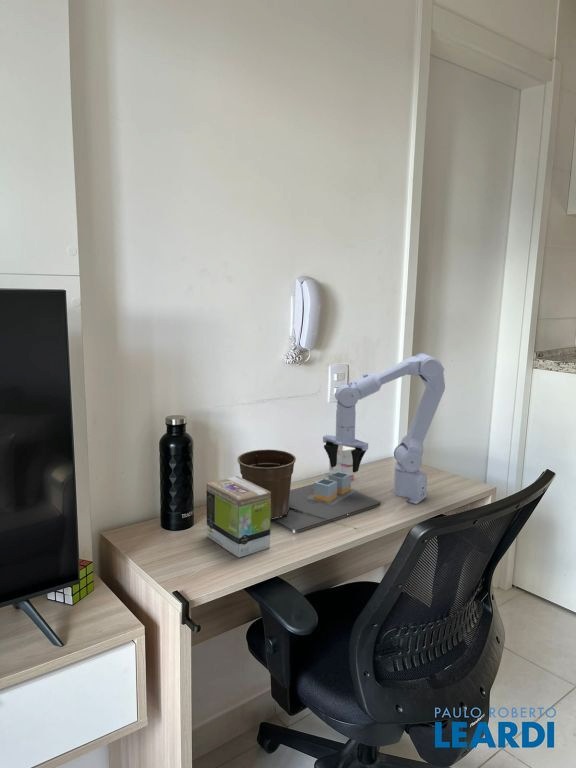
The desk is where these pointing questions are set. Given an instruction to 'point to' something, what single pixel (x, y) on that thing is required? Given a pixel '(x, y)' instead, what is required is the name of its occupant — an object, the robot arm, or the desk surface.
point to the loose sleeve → (325, 490)
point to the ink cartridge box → (343, 461)
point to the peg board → (339, 497)
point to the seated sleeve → (341, 481)
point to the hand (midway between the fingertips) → (344, 469)
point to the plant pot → (270, 475)
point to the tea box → (238, 515)
